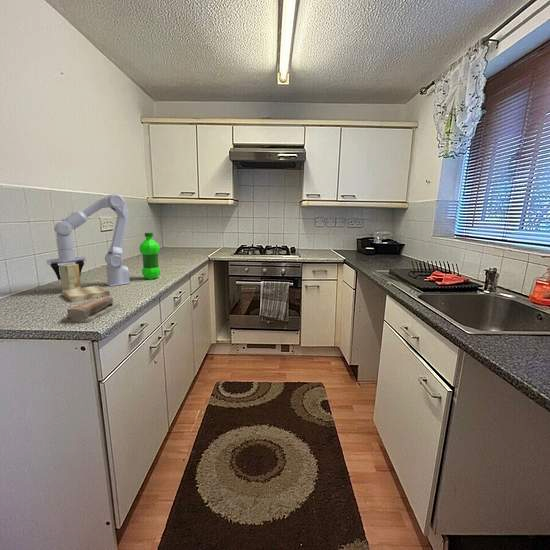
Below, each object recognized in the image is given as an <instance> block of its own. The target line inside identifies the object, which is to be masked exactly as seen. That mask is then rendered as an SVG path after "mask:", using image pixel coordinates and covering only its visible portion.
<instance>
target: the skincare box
mask: <svg viewBox="0 0 550 550" xmlns="http://www.w3.org/2000/svg"><path fill="white" fill-rule="evenodd" d="M59 272H60V277H61V280H60V281H61V282H60V283H61V290H62V291H64V290H71V289H78V288H82V284H81V275H80V274H79V264H75V263H64V264H60V265H59Z"/></svg>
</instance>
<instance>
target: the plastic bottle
mask: <svg viewBox="0 0 550 550" xmlns="http://www.w3.org/2000/svg"><path fill="white" fill-rule="evenodd" d="M144 237H145V240H143V241H142V243H140V245H139V253H140V254H141V255H142V265H143V266H142V270H141V275H142V276H143V278H146V279H147V278H148V279H147V280H153V279H152V278H156V279H157V278H158V277H159V276H160V275H161V273H162V272H161V268H160V267H159V255H158V254H160V249H161V247H160V245H159V243H158V242H156V240H154V239H153V237H154V233H153V232H144Z"/></svg>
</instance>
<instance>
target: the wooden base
mask: <svg viewBox="0 0 550 550" xmlns="http://www.w3.org/2000/svg"><path fill="white" fill-rule="evenodd" d="M62 296H63V297H65V299H67V298H68V299H67V300H69V301H70V302H72V303H73V302H74V301H75V302H79V301H80V300H81V301H86V300H92V299H95V298H96V297H98V298H99V297H102V296H103V297H104V296H109V297H110V290H108V289H106V288H104V287H102V286H100V285H92V286H86V287H81V288H78V289H71V290H64V291H62ZM91 298H92V299H91Z"/></svg>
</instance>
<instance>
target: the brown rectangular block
mask: <svg viewBox="0 0 550 550" xmlns="http://www.w3.org/2000/svg"><path fill="white" fill-rule="evenodd" d="M119 306H120V307H121V303H119V302H116V303H115V302H114V298H113V297H112V296H110V295H109V296H103V297H98V298H92V299H89V300H88V301H85V302H82V303H80V304H78V305H76V306H73V307H71V308H68V309H67V310H66V311H67V312H66V313H67V315H66V317H63V318H61V319H60V320H61V322H68V321H80V322H79V323H91V322H93V321H95V320H96V318H97V319H99V318H101V317H103V316H105V315H106V314H108V313H111V312H112V311H115V310H116V309H118V308H119ZM102 315H103V316H102ZM100 316H101V317H100ZM98 317H99V318H98ZM94 319H95V320H94ZM92 320H93V321H92Z"/></svg>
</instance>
